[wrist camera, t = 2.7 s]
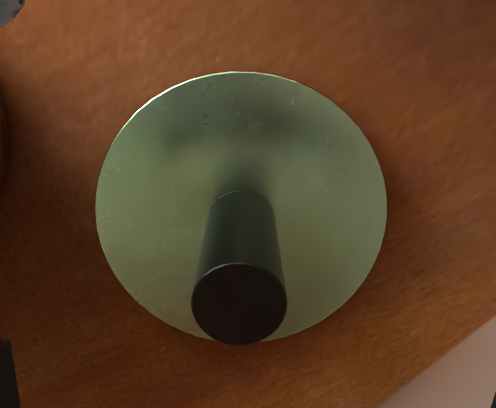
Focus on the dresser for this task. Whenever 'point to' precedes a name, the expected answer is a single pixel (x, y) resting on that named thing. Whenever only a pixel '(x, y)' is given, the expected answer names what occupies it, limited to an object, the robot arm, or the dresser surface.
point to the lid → (241, 206)
